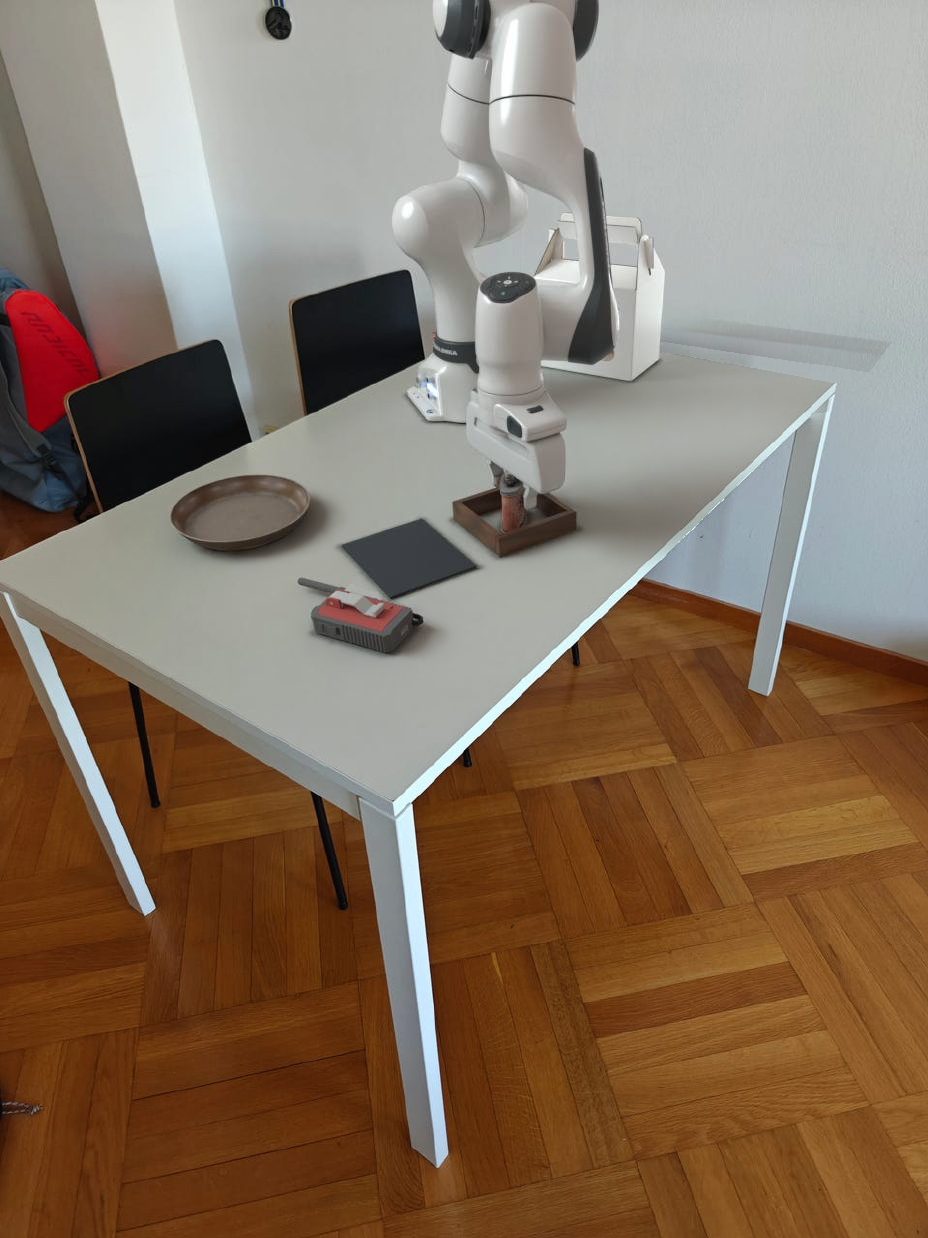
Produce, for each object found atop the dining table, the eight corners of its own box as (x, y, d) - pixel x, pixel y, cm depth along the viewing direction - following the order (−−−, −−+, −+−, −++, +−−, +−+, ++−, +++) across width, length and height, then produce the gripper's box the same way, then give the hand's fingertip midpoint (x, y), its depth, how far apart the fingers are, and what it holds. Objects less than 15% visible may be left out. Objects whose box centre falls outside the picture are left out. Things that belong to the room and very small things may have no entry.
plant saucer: (335, 499, 139) (332, 480, 137) (271, 568, 123) (266, 548, 121) (222, 485, 145) (217, 467, 143) (146, 550, 129) (140, 530, 127)
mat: (341, 547, 127) (341, 544, 127) (421, 520, 132) (421, 518, 131) (390, 599, 115) (390, 596, 115) (476, 568, 120) (476, 565, 120)
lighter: (521, 539, 126) (520, 475, 120) (497, 537, 126) (495, 474, 120) (529, 511, 132) (528, 449, 126) (507, 510, 133) (505, 449, 127)
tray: (453, 519, 131) (452, 501, 130) (526, 495, 136) (526, 477, 135) (499, 557, 122) (498, 538, 120) (576, 529, 127) (577, 511, 125)
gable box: (532, 364, 182) (530, 218, 165) (563, 345, 190) (564, 203, 174) (632, 382, 171) (640, 227, 155) (660, 360, 180) (671, 211, 163)
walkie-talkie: (433, 619, 111) (304, 584, 119) (431, 590, 109) (299, 556, 117) (397, 659, 105) (264, 620, 113) (393, 629, 102) (257, 591, 111)
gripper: (452, 386, 125) (458, 475, 133) (533, 435, 110) (534, 531, 118) (490, 376, 127) (494, 464, 135) (574, 422, 112) (573, 517, 120)
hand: (513, 496), depth 126 cm, fingers open, 6 cm apart
